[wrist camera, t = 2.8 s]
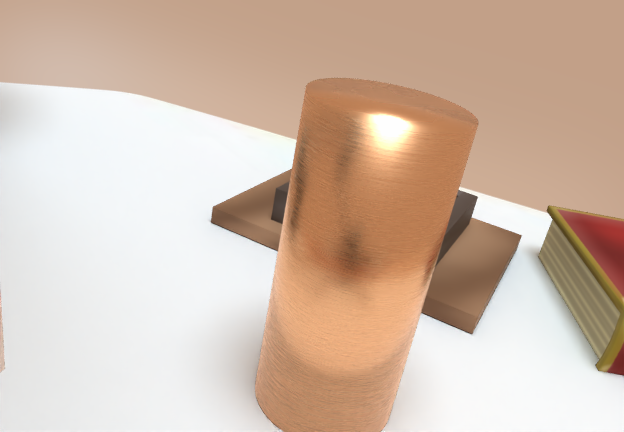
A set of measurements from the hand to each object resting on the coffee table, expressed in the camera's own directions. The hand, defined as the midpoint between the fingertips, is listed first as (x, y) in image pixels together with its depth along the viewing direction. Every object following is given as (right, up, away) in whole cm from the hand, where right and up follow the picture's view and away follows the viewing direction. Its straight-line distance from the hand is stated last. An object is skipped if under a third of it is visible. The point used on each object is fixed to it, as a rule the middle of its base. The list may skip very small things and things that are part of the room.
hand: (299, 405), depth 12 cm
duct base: (+4, +2, +26) cm, 26 cm away
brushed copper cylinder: (+1, -3, +12) cm, 13 cm away
